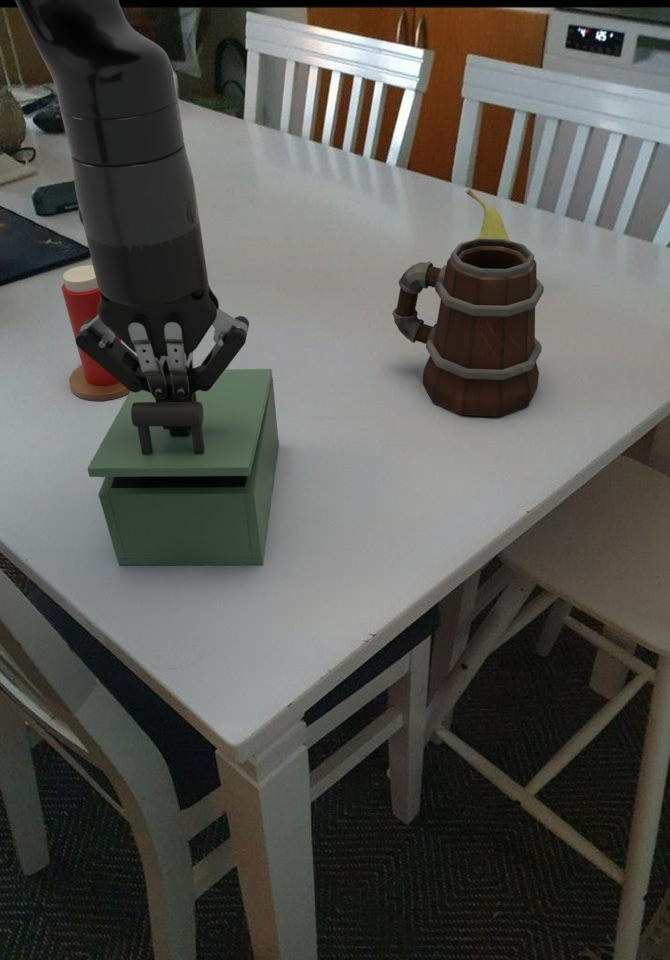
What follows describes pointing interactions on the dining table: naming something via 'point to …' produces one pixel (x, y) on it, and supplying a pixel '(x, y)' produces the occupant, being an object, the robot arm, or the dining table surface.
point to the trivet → (94, 388)
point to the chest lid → (213, 438)
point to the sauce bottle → (85, 316)
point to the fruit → (490, 221)
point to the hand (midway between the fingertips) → (181, 429)
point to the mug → (477, 326)
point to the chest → (195, 511)
